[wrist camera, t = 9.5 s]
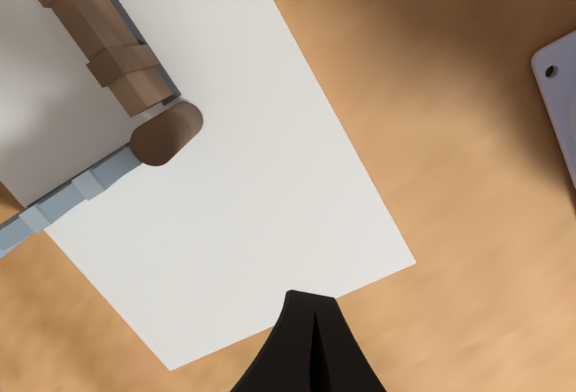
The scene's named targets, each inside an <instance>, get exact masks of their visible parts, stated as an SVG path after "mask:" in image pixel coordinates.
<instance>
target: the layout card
mask: <svg viewBox="0 0 576 392" xmlns="http://www.w3.org/2000/svg"><path fill="white" fill-rule="evenodd" d="M111 3H112V4H113V6H114V7H115V8H116V10H117V11H118V13H119V14H120V16H121V17H122V19H123V20H124V22H125V23H126V25H127V26H128V28H129V29H130V31H131V32H132V34H133V35H134V37H135V38H136V40H137V41H138V43H139V44H140V45H146V44H148V46H149V47H150V49H151V50H152V52H153V53H154V54H155V56H156V57H157V59H158V60H159V62H160V64H159V65H157V66H156V67H155V68H156V69H157V71H158V72H159V74H160V75H161V77H162V78H163V80H164V81H165V83H166V84H167V85H168V87H169V88H170V90H171V91H172V93H173V94H172V95H171V96H169V97H168V98H166V99H165V100H163V101H162V102H160V103H158V104H156V105H155V106H153V107H151V108H149V109H147V110H145V111H143V112H141V113H139V114H137V115H135V116H134V117H132V118H130V116H129V115H128V114H127V112H126V111H125V110H124V108H123V107H122V105H121V104H120V103H119V101H118V100H117V99H116V97H115V96H114V94H113V93H112V92H111V90H110V89H109V88H108V86H107V87H103V88H102V87H101V85H100V84H99V83H98V81H97V80H96V78H95V77H94V76H93V74H92V73H91V72H90V70H89V69H88V68H87V66H86V64H88V63H89V62H90V61H89V60H88V59H87V57H86V56H85V55H84V53H83V52H82V50H81V49H80V48H79V46H78V45H77V44H76V42H75V41H74V39H73V38H72V37H71V35H70V34H69V33H68V31H67V30H66V28H65V27H64V26H63V24H62V23H61V22H60V20H59V19H58V17H57V16H56V15H55V13H54V12H53V11H52V9H51V8H44V7H43V6H42V5H41V3H40V2H39V1H38V0H0V181H1V182H2V183H3V184H4V186H5V187H6V188H7V189H8V190H9V191H10V192H11V193H12V194H13V196H14V197H15V198H16V199H17V200H18V201H19V202H20V203H21V205H22V206H23V207H24V208H27V207H32V206H34V205H35V204H37V203H38V202H40V201H41V200H43V199H44V198H46V197H47V196H49V195H50V194H52V193H53V192H55V191H56V190H58V189H59V188H61V187H62V186H64V185H66V184H67V183H69V182H70V181H72V180H73V179H75V178H76V177H78V176H79V175H81V174H82V173H84V172H86V171H87V170H89V169H90V168H92V167H93V166H95V165H96V164H98V163H99V162H101V161H102V160H104V159H105V158H107V157H108V156H110V155H111V154H113V153H114V152H116V151H118V150H119V149H121V148H122V147H124V146H126V147H128V146H129V145H130V138H131V135H132V133H133V131H134V130H135V129H136V128H137V127H138V126H140V125H142V124H143V123H145V122H147V121H148V120H150V119H152V118H153V117H155V116H157V115H158V114H160V113H162V112H163V111H165V110H167V109H168V108H170V107H172V106H173V105H175V104H177V103H179V102H189V103H192V104H194V105H195V106H196V107H198V109H199V110H200V111H201V113H202V116H203V126H202V129H201V130H200V132H199V133H197V134H196V135H195V136H194V137H193V138H192V139H191V140H190V141H189V142H188V143H187V144H186V145H185V146H184V147H183V148H182V149H181V150H180V151H179V152H178V153H177V154H176V155H175V156H174V157H173V158H172V159H171V160H170V161H169V162H167V163H166V164H164V165H162V166H149V165H146V164H144V163H142V164H141V165H139V166H138V167H136V168H135V169H133V170H131V171H130V172H128V173H127V174H125V175H124V176H122V177H121V178H120V179H119V180H118V181H116V182H115V183H114V184H113V185H111V186H110V187H109V188H108V189H106V190H105V191H104V192H102V193H101V194H99V195H97V196H96V197H94V198H93V199H91V200H89V201H88V200H87V199H85V200H84V201H82V202H81V203H79V204H78V205H76V206H74V207H73V208H72V209H71V210H69V211H68V212H67V213H65V214H64V215H63V216H61V217H60V218H59V219H58V220H56V221H55V222H54V223H52V224H51V225H50V226H48V227H46V228H45V229H44V230H45V231H46V233H47V234H48V235H49V236H50V237H51V238H52V239H53V240H54V242H55V243H56V244H57V245H58V246H59V247H60V248H61V249H62V251H63V252H64V253H65V254H66V255H67V256H68V257H69V258H70V259H71V261H72V262H73V263H74V264H75V265H76V266H77V267H78V268H79V270H80V271H81V272H82V273H83V274H84V275H85V276H86V277H87V279H88V280H89V281H90V282H91V283H92V284H93V285H94V286H95V287H96V289H97V290H98V291H99V292H100V293H101V294H102V295H103V296H104V298H105V299H106V300H107V301H108V302H109V303H110V304H111V305H112V307H113V308H114V309H115V310H116V311H117V312H118V313H119V314H120V316H121V317H122V318H123V319H124V320H125V321H126V322H127V323H128V324H129V326H130V327H131V328H132V329H133V330H134V331H135V332H136V333H137V335H138V336H139V337H140V338H141V339H142V340H143V341H144V342H145V344H146V345H147V346H148V347H149V348H150V349H151V350H152V351H153V352H154V354H155V355H156V356H157V357H158V358H159V359H160V360H161V361H162V363H163V364H164V365H165V366H166V367H167V368H168V369H169V370H170V371H171V370H174V369H176V368H178V367H180V366H183V365H185V364H187V363H190V362H192V361H194V360H196V359H199V358H201V357H203V356H206V355H208V354H210V353H212V352H215V351H217V350H219V349H221V348H224V347H226V346H228V345H231V344H233V343H235V342H237V341H240V340H242V339H244V338H247V337H249V336H251V335H253V334H256V333H258V332H260V331H263V330H265V329H267V328H269V327H272V326H274V325H275V324H276V322H277V320H278V318H279V315H280V313H281V311H282V308H283V304H284V299H285V295H286V292H287V291H289V290H291V289H292V290H297V291H303V292H308V293H313V294H318V295H324V296H329V297H334V298H335V299H336V298H338V297H340V296H342V295H345V294H347V293H349V292H351V291H354V290H356V289H358V288H361V287H363V286H365V285H367V284H370V283H372V282H374V281H377V280H379V279H381V278H383V277H386V276H388V275H390V274H393V273H395V272H397V271H399V270H402V269H404V268H406V267H408V266H411V265H413V264H415V263H416V261H415V259H414V257H413V255H412V253H411V252H410V250H409V248H408V246H407V244H406V242H405V241H404V239H403V237H402V235H401V233H400V231H399V230H398V228H397V226H396V224H395V222H394V220H393V219H392V217H391V215H390V213H389V211H388V209H387V208H386V206H385V204H384V202H383V200H382V198H381V197H380V195H379V193H378V191H377V189H376V187H375V185H374V184H373V182H372V180H371V178H370V176H369V174H368V173H367V171H366V169H365V167H364V165H363V163H362V162H361V160H360V158H359V156H358V154H357V152H356V151H355V149H354V147H353V145H352V143H351V141H350V140H349V138H348V136H347V134H346V132H345V130H344V129H343V127H342V125H341V123H340V121H339V119H338V118H337V116H336V114H335V112H334V110H333V108H332V106H331V105H330V103H329V101H328V99H327V97H326V95H325V94H324V92H323V90H322V88H321V86H320V84H319V83H318V81H317V79H316V77H315V75H314V73H313V72H312V70H311V68H310V66H309V64H308V62H307V61H306V59H305V57H304V55H303V53H302V51H301V50H300V48H299V46H298V44H297V42H296V40H295V38H294V37H293V35H292V33H291V31H290V29H289V27H288V26H287V24H286V22H285V20H284V18H283V16H282V15H281V13H280V11H279V9H278V7H277V5H276V4H275V2H274V0H112V1H111Z"/></svg>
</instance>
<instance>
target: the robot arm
mask: <svg viewBox="0 0 576 392" xmlns="http://www.w3.org/2000/svg"><path fill="white" fill-rule="evenodd" d="M531 66H532V69H533V72H534V75H535V78H536V80H537V83H538V86H539V89H540V92H541V94H542V97H543V100H544V103H545V106H546V108H547V111H548V114H549V117H550V120H551V122H552V125H553V128H554V131H555V134H556V136H557V139H558V142H559V145H560V148H561V150H562V153H563V156H564V159H565V162H566V164H567V167H568V170H569V173H570V176H571V178H572V181H573V184H574V187H575V190H576V30H575V31H573V32H571V33H570V34H568V35H566V36H564V37H562V38H560V39H558V40H556V41H555V42H553V43H551V44H549V45H547V46H545V47H543V48H541V49H540V50H538V51H537V52H536V53H535V54H534V56H533V57H532V60H531ZM550 66H553V73H552V75H550V76H549V77H546V76H545V72H546V69H547V68H548V67H550ZM230 392H387V391H386V390H385V388H384V387H383V385H382V384H381V382H380V381H379V379H378V378H377V376H376V375H375V373H374V371H373V370H372V368H371V366H370V365H369V363H368V361H367V360H366V358H365V356H364V355H363V353H362V351H361V349H360V347H359V346H358V344H357V342H356V340H355V338H354V336H353V335H352V333H351V331H350V329H349V327H348V325H347V323H346V321H345V319H344V317H343V314H342V312H341V310H340V308H339V306H338V303H337V301H336V300H335V298H334V297H329V296H324V295H318V294H313V293H308V292H303V291H297V290H292V289H291V290H289V291H287V292H286V295H285V299H284V304H283V308H282V311H281V313H280V315H279V318H278V320H277V322H276V324H275V326H274V328H273V329H272V331H271V333H270V335H269V337H268V339H267V340H266V342H265V344H264V345H263V347H262V348H261V350H260V351H259V353H258V355H257V356H256V358H255V359H254V361H253V362H252V364H251V365H250V366H249V368H248V369H247V370H246V372H245V373H244V375H243V376H242V377H241V378H240V380H239V381H238V382H237V384H236V385H235V386H234V387H233V388H232V390H231V391H230Z"/></svg>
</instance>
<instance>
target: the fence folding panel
mask: <svg viewBox="0 0 576 392" xmlns="http://www.w3.org/2000/svg"><path fill="white" fill-rule="evenodd" d="M141 164H142V162H141V161H139V160H138V159H137V158H136V156H135V155H134V154H133V152H132V149H131V145H129V146H128V147H126V146H124V147H122V148H121V149H119V150H118V151H116V152H114V153H113V154H111V155H110V156H108V157H107V158H105V159H104V160H102V161H101V162H99V163H98V164H96V165H95V166H93V167H92V168H90V169H89V170H87V171H86V172H84V173H82V174H81V175H79V176H78V177H76V178H75V179H73V180H72V181H70V182H69V183H67V184H66V185H64V186H62V187H61V188H59V189H58V190H56V191H55V192H53V193H52V194H50V195H49V196H47V197H46V198H44V199H43V200H41V201H40V202H38V203H37V204H35V205H34V206H32V207H27V208H25V209H23V210H22V211H20V212H19V213H17V214H16V215H14V216H13V217H11V218H10V219H8V220H6V221H5V222H3V223H2V224H0V258H2V257H3V256H4V255H6V254H7V253H8V252H10V251H11V250H12V249H13V248H15V247H16V246H17V245H19V244H20V243H21V242H23V241H24V240H25V239H27V238H28V237H29V236H31V235H32V234H33V233H35V234H37V233H38V232H40V231H42V230H43V229H45V228H46V227H48V226H50V225H51V224H52V223H54V222H55V221H56V220H58V219H59V218H60V217H61V216H63V215H64V214H65V213H67V212H68V211H69V210H71V209H72V208H73V207H74V206H76V205H78V204H79V203H81V202H82V201H84V200H85V199H87V200H88V201H89V200H91V199H93V198H94V197H96V196H97V195H99V194H101V193H102V192H104V191H105V190H106V189H108V188H109V187H110V186H111V185H113V184H114V183H115V182H116V181H118V180H119V179H120V178H121V177H122V176H124V175H125V174H127V173H128V172H130V171H131V170H133V169H135V168H136V167H138V166H139V165H141Z"/></svg>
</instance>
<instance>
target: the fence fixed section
mask: <svg viewBox="0 0 576 392" xmlns="http://www.w3.org/2000/svg"><path fill="white" fill-rule="evenodd" d="M38 1H39V2H40V3H41V5H42V6H43V7H44V8H51V9H52V11H53V12H54V13H55V15H56V16H57V17H58V19H59V20H60V22H61V23H62V24H63V26H64V27H65V28H66V30H67V31H68V33H69V34H70V35H71V37H72V38H73V39H74V41H75V42H76V44H77V45H78V46H79V48H80V49H81V50H82V52H83V53H84V55H85V56H86V57H87V59H88V60H89V61H90V62H89V63H88V64H86V66H87V68H88V69H89V70H90V72H91V73H92V74H93V76H94V77H95V78H96V80H97V81H98V83H99V84H100V85H101V87H102V88H103V87H107V86H108V88H109V89H110V90H111V92H112V93H113V94H114V96H115V97H116V99H117V100H118V101H119V103H120V104H121V105H122V107H123V108H124V110H125V111H126V112H127V114H128V115H129V116H130V118H132V117H134V116H135V115H137V114H139V113H141V112H143V111H145V110H147V109H149V108H151V107H153V106H155V105H156V104H158V103H160V102H162V101H163V100H165V99H166V98H168V97H169V96H171V95H172V94H173V93H172V91H171V90H170V88H169V87H168V85H167V84H166V83H165V81H164V80H163V78H162V77H161V75H160V74H159V72H158V71H157V69H156V68H155V67H156V66H157V65H159V64H160V62H159V60H158V59H157V57H156V56H155V54H154V53H153V52H152V50H151V49H150V47H149V46H148V44H146V45H140V44H139V43H138V41H137V40H136V38H135V37H134V35H133V34H132V32H131V31H130V29H129V28H128V26H127V25H126V23H125V22H124V20H123V19H122V17H121V16H120V14H119V13H118V11H117V10H116V8H115V7H114V6H113V4H112V3H111V1H112V0H38ZM202 126H203V116H202V113H201V111H200V110H199V109H198V107H196V106H195V105H194V104H192V103H189V102H179V103H177V104H175V105H173V106H172V107H170V108H168V109H167V110H165V111H163V112H162V113H160V114H158V115H157V116H155V117H153V118H152V119H150V120H148V121H147V122H145V123H143V124H142V125H140V126H138V127H137V128H136V129H135V130H134V131H133V133H132V135H131V138H130V145H131V149H132V152H133V154H134V155H135V156H136V158H137V159H138V160H139V161H141V162H142V163H144V164H146V165H149V166H162V165H164V164H166V163H167V162H169V161H170V160H171V159H172V158H173V157H174V156H175V155H176V154H177V153H178V152H179V151H180V150H181V149H182V148H183V147H184V146H185V145H186V144H187V143H188V142H189V141H190V140H191V139H192V138H193V137H194V136H195V135H196V134H197V133H199V132H200V130H201V129H202Z"/></svg>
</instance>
